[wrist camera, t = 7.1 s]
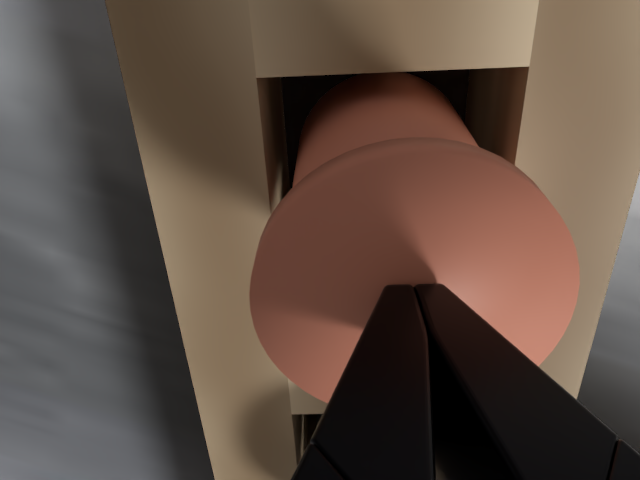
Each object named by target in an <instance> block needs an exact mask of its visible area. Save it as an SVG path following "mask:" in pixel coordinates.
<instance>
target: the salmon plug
mask: <svg viewBox="0 0 640 480" xmlns="http://www.w3.org/2000/svg"><path fill="white" fill-rule="evenodd" d="M433 283H440V284H443V285H445V286H446V287H447V288H448V289H450V290H451V291H452V292H453V293H454V294H455V295H456V296H458V297H459V298H460V299H461V300H462V301H463V302H465V303H466V304H467V305H468V306H469V307H470V308H472V309H473V310H474V311H475V312H476V313H477V314H478V315H480V316H481V317H482V318H483V319H484V320H485V321H487V322H488V323H489V324H490V325H491V326H492V327H493V328H495V329H496V330H497V331H498V332H499V333H500V334H502V335H503V336H504V337H505V338H506V339H507V340H508V341H510V342H511V343H512V344H513V345H514V346H515V347H517V348H518V349H519V350H520V351H521V352H522V353H523V354H525V355H526V356H527V357H528V358H529V359H530V360H532V361H533V362H534V363H535V364H536V365H537V366H539V365H540V364H541V363H542V362H543V361H544V360H545V359H546V358H547V357H548V355H549V354H550V353H551V352H552V351H553V350H554V348H555V347H556V345H557V344H558V342H559V341H560V339H561V338H562V336H563V335H564V333H565V331H566V329H567V327H568V325H569V323H570V321H571V318H572V315H573V312H574V309H575V306H576V303H577V298H578V292H579V285H580V267H579V261H578V256H577V250H576V247H575V244H574V242H573V239H572V236H571V233H570V231H569V229H568V228H567V226H566V224H565V222H564V221H563V219H562V217H561V216H560V214H559V213H558V212H557V210H556V209H555V208H554V206H553V205H552V204H551V202H550V201H549V200H548V199H547V197H546V196H545V195H544V193H543V192H542V191H541V190H540V189H539V187H538V186H537V185H536V184H535V183H534V181H533V180H532V179H530V178H529V177H528V176H527V175H526V174H525V173H524V172H522V171H521V170H520V169H519V168H518V167H516V166H515V165H513V164H512V163H510V162H508V161H507V160H505V159H504V158H502V157H501V156H498V155H496V154H494V153H492V152H490V151H487V150H485V149H483V148H481V147H479V146H478V145H477V143H476V142H475V140H474V138H473V137H472V135H471V134H470V132H469V131H468V129H467V127H466V126H465V124H464V123H463V121H462V120H461V118H460V116H459V115H458V113H457V112H456V110H455V109H454V107H453V106H452V104H451V102H450V101H449V100H448V99H447V98H446V96H445V95H444V94H443V93H442V92H441V91H440V90H438V89H437V88H436V87H435V86H433V85H432V84H430V83H429V82H427V81H426V80H424V79H421V78H419V77H417V76H415V75H411V74H408V73H405V72H385V73H362V74H358V75H356V76H353V77H351V78H348V79H346V80H344V81H342V82H341V83H339V84H337V85H336V86H334V87H333V88H331V89H330V90H329V91H328V92H326V93H325V94H324V95H323V96H322V97H321V98H320V99H319V100H318V102H317V103H316V104H315V105H314V107H313V108H312V110H311V111H310V113H309V115H308V116H307V118H306V121H305V123H304V125H303V128H302V131H301V135H300V140H299V147H298V153H297V160H296V167H295V173H294V180H293V187H292V189H291V190H290V191H289V192H288V193H287V194H286V195H285V197H284V198H283V199H282V200H281V201H280V202H279V204H278V205H277V207H276V208H275V210H274V211H273V213H272V215H271V216H270V218H269V219H268V221H267V224H266V226H265V228H264V230H263V233H262V235H261V237H260V241H259V245H258V249H257V252H256V256H255V261H254V265H253V269H252V274H251V281H250V291H249V298H250V312H251V316H252V320H253V325H254V328H255V331H256V333H257V336H258V338H259V341H260V343H261V345H262V346H263V348H264V350H265V351H266V353H267V355H268V356H269V358H270V359H271V360H272V361H273V363H274V364H275V365H276V367H277V368H278V369H279V370H280V371H281V372H282V373H283V374H284V375H285V376H286V377H287V378H288V379H289V380H290V381H292V382H293V383H294V384H296V385H297V386H298V387H300V388H301V389H302V390H304V391H305V392H307V393H309V394H310V395H312V396H314V397H316V398H317V399H319V400H321V401H324V402H326V403H328V402H329V400H330V398H331V396H332V394H333V392H334V390H335V388H336V386H337V384H338V381H339V379H340V377H341V375H342V373H343V371H344V369H345V367H346V365H347V363H348V361H349V359H350V357H351V355H352V352H353V350H354V348H355V346H356V344H357V342H358V340H359V338H360V336H361V334H362V332H363V330H364V328H365V326H366V323H367V321H368V319H369V317H370V315H371V313H372V311H373V309H374V307H375V305H376V303H377V301H378V299H379V297H380V294H381V292H382V290H383V288H384V287H385V286H386V285H395V284H410V285H412V286H413V287H415V285H417V284H433Z"/></svg>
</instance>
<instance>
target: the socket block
mask: <svg viewBox="0 0 640 480" xmlns="http://www.w3.org/2000/svg"><path fill="white" fill-rule="evenodd" d="M105 3H106V8H107V12H108V16H109V21H110V25H111V30H112V34H113V38H114V43H115V47H116V51H117V56H118V60H119V64H120V69H121V73H122V77H123V82H124V86H125V91H126V95H127V99H128V104H129V108H130V112H131V117H132V121H133V125H134V130H135V134H136V138H137V143H138V147H139V152H140V156H141V160H142V165H143V169H144V173H145V178H146V182H147V186H148V191H149V195H150V199H151V204H152V208H153V213H154V217H155V221H156V226H157V230H158V234H159V239H160V243H161V247H162V252H163V256H164V260H165V265H166V269H167V274H168V278H169V282H170V287H171V291H172V295H173V300H174V304H175V308H176V313H177V317H178V321H179V326H180V330H181V335H182V339H183V343H184V348H185V352H186V356H187V361H188V365H189V369H190V374H191V378H192V382H193V387H194V391H195V396H196V400H197V404H198V409H199V413H200V417H201V422H202V426H203V430H204V435H205V439H206V443H207V448H208V452H209V457H210V461H211V465H212V470H213V474H214V478H215V480H290V479H291V477H292V475H293V474H294V472H295V470H296V468H297V466H298V464H299V462H300V459H301V457H302V455H303V453H304V451H305V449H306V447H307V445H309V444H310V440H311V437H312V435H313V433H314V431H315V429H316V418H317V414H323V413H324V411H325V408H326V406H327V404H328V403H326V402H324V401H321V400H319V399H317V398H316V397H314V396H312V395H310V394H309V393H307V392H305V391H304V390H302V389H301V388H300V387H298V386H297V385H296V384H294V383H293V382H292V381H290V380H289V379H288V378H287V377H286V376H285V375H284V374H283V373H282V372H281V371H280V370H279V369H278V368H277V367H276V365H275V364H274V363H273V361H272V360H271V359H270V358H269V356H268V355H267V353H266V351H265V350H264V348H263V346H262V345H261V343H260V341H259V338H258V336H257V333H256V331H255V328H254V325H253V320H252V316H251V312H250V298H249V291H250V281H251V274H252V269H253V265H254V261H255V256H256V252H257V249H258V245H259V241H260V237H261V235H262V233H263V230H264V228H265V226H266V224H267V221H268V219H269V218H270V216H271V215H272V213H273V211H274V210H275V208H276V207H277V205H278V204H279V202H280V201H281V200H282V199H283V198H284V197H285V195H286V194H287V193H288V192H289V191H290V180H289V168H288V156H287V143H286V131H285V119H284V107H283V95H282V82H281V77H289V76H313V75H337V74H361V73H385V72H409V71H433V70H456V69H470V72H469V83H468V93H467V104H466V115H465V126H466V127H467V129H468V131H469V132H470V134H471V135H472V137H473V138H474V140H475V142H476V143H477V145H478V146H479V147H481V148H483V149H485V150H487V151H490V152H492V153H494V154H496V155H498V156H501V157H502V158H504V159H505V160H507V161H508V162H510V163H512V164H513V165H515V166H516V167H518V168H519V169H520V170H521V171H522V172H524V173H525V174H526V175H527V176H528V177H529V178H530V179H532V180H533V181H534V183H535V184H536V185H537V186H538V187H539V189H540V190H541V191H542V192H543V193H544V195H545V196H546V197H547V199H548V200H549V201H550V202H551V204H552V205H553V206H554V208H555V209H556V210H557V212H558V213H559V214H560V216H561V217H562V219H563V221H564V222H565V224H566V226H567V228H568V229H569V231H570V233H571V236H572V239H573V242H574V244H575V247H576V250H577V256H578V261H579V267H580V285H579V292H578V298H577V303H576V306H575V309H574V312H573V315H572V318H571V321H570V323H569V325H568V327H567V329H566V331H565V333H564V335H563V336H562V338H561V339H560V341H559V342H558V344H557V345H556V347H555V348H554V350H553V351H552V352H551V353H550V354H549V355H548V357H547V358H546V359H545V360H544V361H543V362H542V363H541V364H540V365H539V366H538V367H540V368H541V369H542V370H543V371H544V372H545V373H547V374H548V375H549V376H550V377H551V378H552V379H553V380H555V381H556V382H557V383H558V384H559V385H560V386H562V387H563V388H564V389H565V390H566V391H567V392H568V393H570V394H571V395H572V396H573V397H574V398H575V399H577V396H578V393H579V389H580V385H581V382H582V378H583V374H584V371H585V367H586V364H587V360H588V356H589V353H590V349H591V345H592V342H593V338H594V335H595V331H596V327H597V324H598V320H599V316H600V313H601V309H602V306H603V302H604V298H605V295H606V291H607V287H608V284H609V280H610V277H611V273H612V269H613V266H614V262H615V259H616V255H617V251H618V248H619V244H620V240H621V237H622V233H623V230H624V226H625V222H626V219H627V215H628V211H629V208H630V204H631V201H632V197H633V193H634V190H635V186H636V182H637V179H638V175H639V172H640V0H105Z"/></svg>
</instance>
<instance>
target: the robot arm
mask: <svg viewBox="0 0 640 480" xmlns="http://www.w3.org/2000/svg"><path fill="white" fill-rule="evenodd" d="M617 440H618V436H617V434H616V433H615V432H614V431H612V430H611V429H610V428H609V427H608V426H607V425H605V424H604V423H603V422H602V421H601V420H600V419H598V418H597V417H596V416H595V415H594V414H593V413H592V412H590V411H589V410H588V409H587V408H586V407H585V406H583V405H582V404H581V403H580V402H579V401H578V400H577V399H575V398H574V397H573V396H572V395H571V394H570V393H568V392H567V391H566V390H565V389H564V388H563V387H562V386H560V385H559V384H558V383H557V382H556V381H555V380H553V379H552V378H551V377H550V376H549V375H548V374H547V373H545V372H544V371H543V370H542V369H541V368H540V367H538V366H537V365H536V364H535V363H534V362H533V361H532V360H530V359H529V358H528V357H527V356H526V355H525V354H523V353H522V352H521V351H520V350H519V349H518V348H517V347H515V346H514V345H513V344H512V343H511V342H510V341H508V340H507V339H506V338H505V337H504V336H503V335H502V334H500V333H499V332H498V331H497V330H496V329H495V328H493V327H492V326H491V325H490V324H489V323H488V322H487V321H485V320H484V319H483V318H482V317H481V316H480V315H478V314H477V313H476V312H475V311H474V310H473V309H472V308H470V307H469V306H468V305H467V304H466V303H465V302H463V301H462V300H461V299H460V298H459V297H458V296H456V295H455V294H454V293H453V292H452V291H451V290H450V289H448V288H447V287H446V286H445V285H443V284H440V283H433V284H417V285H415V287H413V286H412V285H410V284H395V285H386V286H385V287H384V288H383V290H382V292H381V294H380V297H379V299H378V301H377V303H376V305H375V307H374V309H373V311H372V313H371V315H370V317H369V319H368V321H367V323H366V326H365V328H364V330H363V332H362V334H361V336H360V338H359V340H358V342H357V344H356V346H355V348H354V350H353V352H352V355H351V357H350V359H349V361H348V363H347V365H346V367H345V369H344V371H343V373H342V375H341V377H340V379H339V381H338V384H337V386H336V388H335V390H334V392H333V394H332V396H331V398H330V400H329V402H328V404H327V406H326V408H325V411H324V413H323V415H322V417H321V419H320V421H319V423H318V425H317V427H316V429H315V431H314V433H313V435H312V437H311V440H310V444H309V445H307V447H306V449H305V451H304V453H303V455H302V457H301V459H300V462H299V464H298V466H297V468H296V470H295V472H294V474H293V475H292V477H291V479H290V480H640V454H639V453H638V452H637V451H636V450H635V449H634V448H632V447H631V446H630V445H629V444H628V443H627V442H625V441H624V440H618V441H617Z"/></svg>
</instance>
